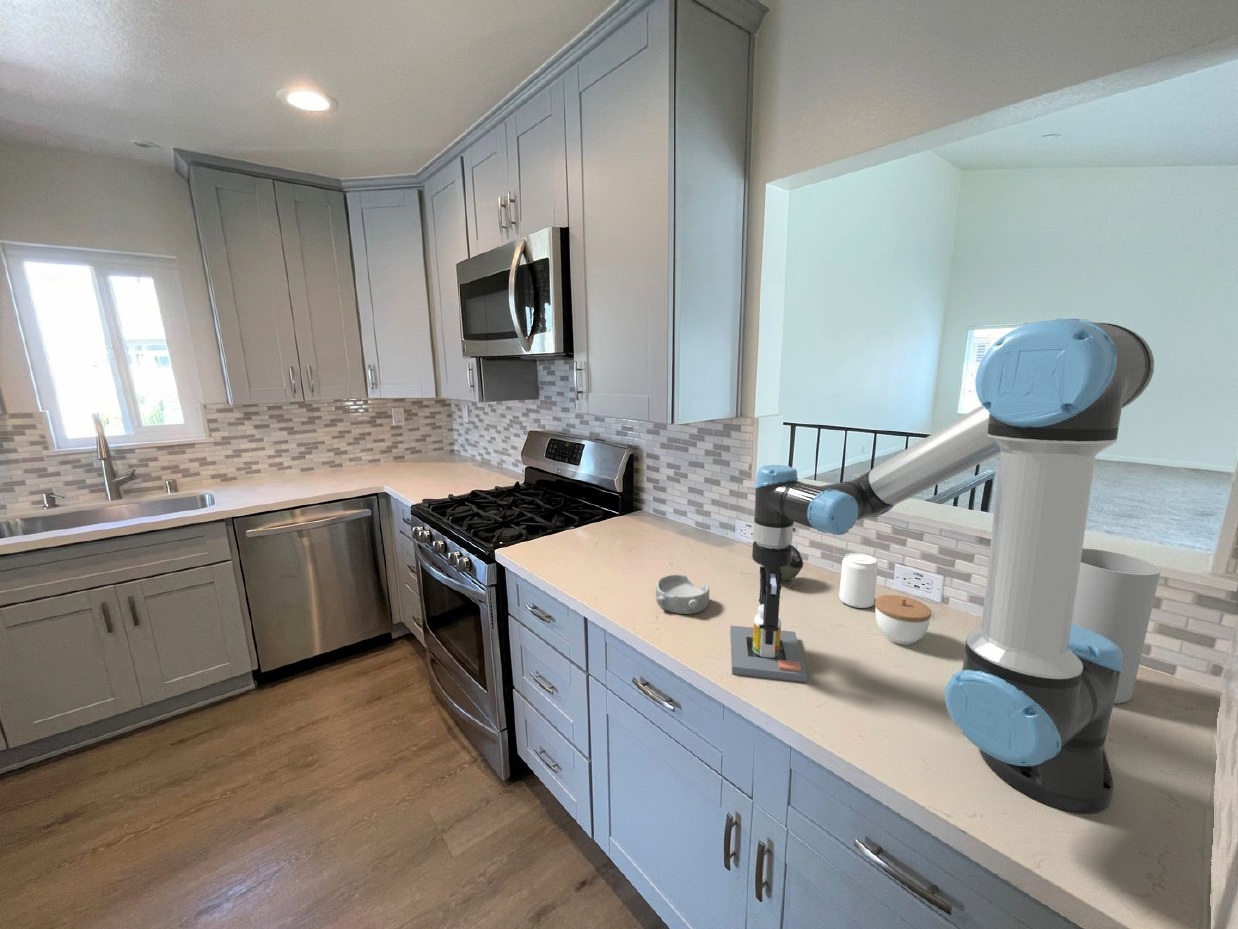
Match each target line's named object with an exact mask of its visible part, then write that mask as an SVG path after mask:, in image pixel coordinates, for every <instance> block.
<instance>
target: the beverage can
mask: <svg viewBox="0 0 1238 929" xmlns="http://www.w3.org/2000/svg"><path fill="white" fill-rule="evenodd" d="M878 569H879V565H878V563H877V559H876V558H875V557H873V556H872V555H868V554H865V553H859V552H851V553H847V554H845V555H844V558H843V559H842V562H841V574H840V583H839V591H838V592H839V594H838V597H839V600H840V601H841V602H842V603H843V604H846V605H847V606H849V607H853V608H858V609H866V608H867V609H868V608H871V607H873V606H874V605H875V597H876V588H877V578H878Z"/></svg>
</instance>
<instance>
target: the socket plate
mask: <svg viewBox="0 0 1238 929" xmlns="http://www.w3.org/2000/svg"><path fill="white" fill-rule="evenodd" d="M729 631H730V632H729V635H730V636H729V637H730V655H731V656H730V658H731V659H730V660H731V674H732V675H737V676H745V677H746V676H747V677H755V678H763V679H771V680H780V681H789V682H797V683H808V673H807V669H806V666H805V663H804V659H803V655H802V652H801V648H800V645H799V641H798V637H797V635H796V634H797V633H796V631H790V630H781V633H780V647H779V654H778V655H777V656H776V657H774V658H765V657H761V656H759V655H757V654H756V653H755V652H754V651H753V631H754V627H752V626H751V627H748V626H739V625H730V630H729Z"/></svg>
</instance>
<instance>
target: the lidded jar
mask: <svg viewBox="0 0 1238 929" xmlns="http://www.w3.org/2000/svg"><path fill="white" fill-rule="evenodd" d="M874 605H875V609H874V613H875V623H876V626H877V627H878V629H879V631H880V632H881V633H882V634H883V636H884V638H886V639H887V640H888V641H890V642H892V643H895V644H898V645H905V646H908V645H909V646H910V645H911V646H912V645H913V644H915V642H917V641H919V640H921V639H922V638H923V637H924V636H925V634H926V633H927V631H928V628H929V626H930V620H931V617H932V610H931V609H930V607H929V606H928V605H926V604H925V603H923V602H921V601H920V600H918V599H914V598H912V597H909V596H903V595H899V594H898V595H897V594H884V595H879V596H878V597H876V599H875V600H874Z"/></svg>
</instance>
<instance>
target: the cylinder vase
mask: <svg viewBox="0 0 1238 929" xmlns="http://www.w3.org/2000/svg"><path fill="white" fill-rule="evenodd" d="M1160 575H1161V568H1160V567H1158V566H1157V565H1155V564H1153V563H1151V562H1149V561H1146V560H1144V559H1141V558H1138V557H1136V556H1131V555H1128V554H1125V553H1119V552H1115V551H1111V550H1104V549H1097V548H1089V547H1087V548H1086V547H1083V548H1082V555H1081V562H1080V569H1079V576H1078V583H1077V590H1076V597H1075V605H1074V612H1073V619H1072V624H1074V625H1077V626H1080V627H1082V628H1085V629H1088V630H1090V631H1093V632H1095V633H1097V634H1099V635H1102V636H1104V637H1105V638H1107V639H1109V640H1110V641H1112V642H1113V643H1115V644H1116V645H1117V646H1118V647H1119V648H1120V649H1121V651H1122V654H1123V661H1122V669H1123V672H1121V673H1120V677H1119V682H1118V686H1117V691H1116V695H1115V699H1114V704H1123V703H1126V702H1129V701H1130V700H1131V698H1132V697H1133V693H1134V688H1135V685H1136V681H1137V677H1138V676H1137V675H1138V671H1139V667H1140V663H1141V660H1142V659H1141V658H1142V654H1143V649H1144V645H1145V640H1146V637H1147V632H1148V629H1149V624H1150V619H1151V614H1152V610H1153V605H1154V602H1155V597H1156V592H1157V588H1158V584H1159V580H1160Z"/></svg>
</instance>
